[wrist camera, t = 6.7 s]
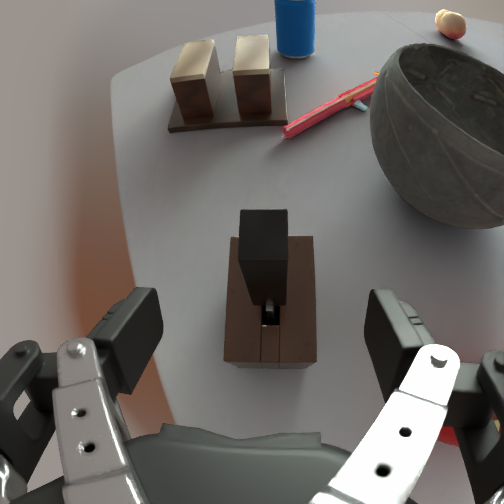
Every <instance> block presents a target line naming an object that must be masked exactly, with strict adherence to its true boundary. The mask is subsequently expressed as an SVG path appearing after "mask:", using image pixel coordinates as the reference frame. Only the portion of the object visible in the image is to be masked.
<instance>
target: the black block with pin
mask: <svg viewBox="0 0 504 504" xmlns="http://www.w3.org/2000/svg"><path fill="white" fill-rule="evenodd" d="M288 261H289V259H288V211H287V209H243V210H241V211H240V225H239V243H238V263H239V266H240V269H241V272H242V275H243V278H244V281H245V284H246V287H247V289H248V292H249V295H250V298H251V301H252V304H253V305H255V306H266V312H267V317H268V322H269V325H276V306H285V305H286V300H287V281H288Z"/></svg>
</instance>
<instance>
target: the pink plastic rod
mask: <svg viewBox="0 0 504 504" xmlns="http://www.w3.org/2000/svg"><path fill="white" fill-rule="evenodd" d="M374 74H376V75H379V72H374ZM377 78H378V77H376V78H374V79H372V80H370V81H368V82H366V83H364V84H361V85H359V86H357V87H355V88H353V89H351V90H348V91H346V92H344V93H342V94H340V95H339V97H338V98H336V99H334V100H332V101H330V102H328V103H326V104H324V105H322V106H321V107H319V108H317V109H315V110H313V111H311V112H309V113H308V114H306V115H304V116H302V117H300V118H299V119H297V120H295V121H293V122H291V123H290V124H288V125H286V126H284V127H283V128H282V131H283V133H284V135H285V136H283V137H282V138H283V139H284V138H286V137H287V138H289V139H290V138H292V137H294V136H295V135H297V134H299V133H300V132H302V131H304V130H305V129H307V128H309V127H311V126H312V125H314V124H316V123H317V122H319V121H321V120H323V119H324V118H326V117H328V116H330V115H332V114H333V113H335V112H337V111H339V110H341V109H342V108H344V107H348V106H349V105H350V106H355V107H356V108H359V109H361V110H362V111H364V112H365V111H366V110H367V108H368V107H367V106H365V105H364V104H362V102H361V101H362V100H363V99H365V98H367V97H369V96H371V95H372V94H373V90H374V87H375V84H376V81H377ZM345 94H346V95H345ZM343 95H344V96H343ZM341 96H342V97H341Z"/></svg>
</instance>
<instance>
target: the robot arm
mask: <svg viewBox="0 0 504 504" xmlns="http://www.w3.org/2000/svg"><path fill="white" fill-rule="evenodd" d="M162 335H163V320H162V315H161V310H160V305H159V300H158V295H157V291H156V289H155V288H145V287H136V288H134V289H133V291H132V292H131V293H130V294H129V295H128V297H127V298H126V299H123V300H121V301H119V302H118V303H116V304H114V305H113V306H112V307H111V309H110V310H109V311H108V312H107V314H105V315H104V317H103V318H102V320H100V321H99V322H98V324H97V325H96V326H95V327H94V328H93V330H92V331H91V332H90V333H89V334H88V335H87V337H86V338H85V337H78V338H74V339H70V340H68V341H66V342H65V343H63V344H62V345H61V346H60V347H59V348H58V350H57V352H56V353H42V352H41V350H40V347H39V345H38V343H37V342H35V341H32V340H27V341H22V342H19V343H17V344H15V345H14V346H13V347H12V348H10V349H9V351H8V352H7V353H6V354H5V355H4V356H3V357H2V358H1V359H0V504H418V503H416V502H415V501H414V500H412V499H411V498H410V497H409V495H410V493H411V491H412V490H413V488H414V486H415V484H416V482H417V480H418V478H419V476H420V474H421V472H422V470H423V468H424V466H425V464H426V462H427V460H428V457H429V455H430V453H431V451H432V449H433V446H434V444H435V442H436V439H437V437H438V434H439V432H440V429H441V427H442V426H445V427H453V430H454V432H455V435H456V438H457V441H458V444H459V447H460V451H461V454H462V457H463V460H464V463H465V467H466V470H467V474H468V477H469V481H470V484H471V488H472V492H473V496H474V500H475V504H504V352H502V351H497V350H493V351H489V352H487V353H485V355H484V356H483V358H482V361H481V363H480V364H477V363H466V362H460V360H459V357H458V355H457V354H456V353H455V352H454V351H453V350H451V349H450V348H448V347H445V346H442V345H437V344H436V343H435V341H434V339H433V338H432V336H431V334H430V333H429V331H428V330H427V328H426V327H425V325H423V322H422V320H421V319H420V318H419V316H418V314H417V313H416V311H415V310H414V308H413V307H411V306H410V305H409V304H407V303H406V302H404V301H399V300H398V299H397V297H396V296H395V294H394V292H393V291H392V289H372V290H371V291H370V294H369V300H368V306H367V313H366V319H365V325H364V338H365V343H366V345H367V348H368V351H369V354H370V357H371V360H372V363H373V366H374V369H375V372H376V375H377V379H378V382H379V385H380V388H381V391H382V394H383V398H384V401H385V404H386V405H385V407H384V408H383V410H382V412H381V413H380V415H379V416H378V418H377V419H376V421H375V422H374V424H373V425H372V427H371V428H370V430H369V431H368V433H367V434H366V436H365V437H364V439H363V440H362V442H361V443H360V444H359V446H358V447H357V448H356V450H355V451H354V453H351V452H348V451H346V450H344V449H342V448H339V447H336V446H332V445H328V444H323V443H321V435H320V432H315V433H278V434H273V435H267V436H261V437H255V438H248V439H240V440H239V439H233V438H229V437H226V436H222V435H219V434H216V433H213V432H210V431H206V430H203V429H200V428H194V427H186V426H179V425H172V424H165V423H163V424H162V427H161V430H160V432H159V433H158V434H149V435H144V436H140V437H137V438H134V439H132V438H131V436H130V433H129V430H128V428H127V425H126V423H125V420H124V417H123V414H122V412H121V409H120V406H119V403H118V401H117V399H116V396H117V395H118V393H124V394H129V395H131V394H132V392H133V390H134V388H135V386H136V384H137V382H138V381H139V379H140V377H141V375H142V373H143V371H144V369H145V367H146V366H147V364H148V362H149V360H150V358H151V356H152V354H153V353H154V351H155V349H156V347H157V345H158V343H159V342H160V340H161V338H162ZM24 390H25V392H26V394H27V396H28V397H29V399H30V400H31V401H30V403H29V404H28V405H27V407H26V408H25V410H24V411H23V413H22V415H21V416H20V417H19V419H18V420H17V419H16V418H15V416H14V413H13V407H14V404H15V402H16V400H17V399H18V397H19V396H20V395H21V394H22V392H23V391H24ZM494 413H495V414H496V417H497V419H498V421H499V423H500V426H501V435H500V434H499V432H498V429H497V427H496V425H495V423H494V420H493V418H492V417H493V415H494ZM55 430H56V433H57V440H58V446H59V452H60V457H61V463H62V468H63V473H64V475H63V476H61V477H59V478H58V479H55V480H53V481H52V482H50V483H47V484H45V485H43V486H41V487H39V488H37V489H35V490H33V491H30V492H28V493H27V483H28V482H29V479H30V477H31V475H32V473H33V471H34V469H35V467H36V466H37V464H38V462H39V460H40V457H41V456H42V454H43V452H44V450H45V448H46V446H47V445H48V442H49V441H50V439H51V437H52V435H53V433H54V432H55Z"/></svg>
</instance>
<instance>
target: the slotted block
mask: <svg viewBox="0 0 504 504" xmlns="http://www.w3.org/2000/svg"><path fill="white" fill-rule="evenodd" d="M170 81H171V84H172V87H173V90H174V93H175V96H176V99H177V100H176V103H175V106H174V109H173V112H172V115H171V118H170V121H169V125H168V131H169V133H172V132H181V131H191V130H202V129H214V128H228V127H247V126H280V125H288V118H287V104H286V90H285V78H284V69H271V65H270V50H269V36H268V35H255V36H240V37H238V38H237V44H236V50H235V56H234V62H233V69H232V71H227V72H220V68H219V62H218V57H217V52H216V47H215V42H214V39H210V40H202V41H195V42H188V43H185V44H184V46H183V48H182V51H181V53H180V55H179V57H178V60H177V62H176V64H175V67H174V69H173V71H172V74H171V76H170Z"/></svg>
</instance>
